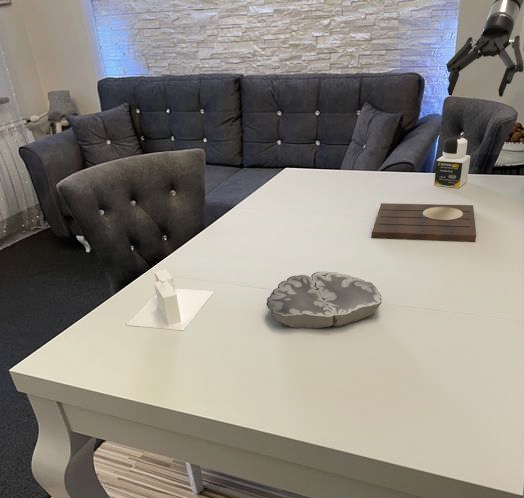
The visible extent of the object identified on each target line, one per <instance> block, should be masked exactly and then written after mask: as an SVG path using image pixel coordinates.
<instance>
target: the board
mask: <svg viewBox="0 0 524 498" xmlns="http://www.w3.org/2000/svg"><path fill="white" fill-rule="evenodd" d="M474 210H475V209H474V205H473V204H441V203H439V204H438V203H437V204H436V203H432V204H431V203H385V202H384V203H383V202H381V203H380V204H379V208H378V210H377V214H376V217H375V220H374V224H373V225H372V226H373V227H372V230H371V236H370V237H371V239H391V240H413V241H415V240H419V241H441V242H442V240H443V242H471V243H472V242H473V243H475V242H476V240H477V228H476V220H475V219H476V218H475V213H474V212H475V211H474Z"/></svg>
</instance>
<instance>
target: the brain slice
mask: <svg viewBox="0 0 524 498" xmlns="http://www.w3.org/2000/svg"><path fill="white" fill-rule="evenodd" d="M265 304H266V307H267V308H268V310H269V311H270V314H271V316H272V317H273V318H274V319H276V320H277V322H279V323H281V324H283V325H284V326H288V327H291V328H294V329H299V328H302V329H304V328H305V329H322V328H330V327H331V326H334V327H341V326H346V325H348V324H350V323H355V322H357V321H361V320H362V319H365V318H368V317H370V316H372V314H374V313H375V311H377V310H378V309H379V307H380V306H381V304H382V294H381V293H380V292H379V291H378V288H377V287H376V285H374V284H373V283H372V282H370V281H365V280H363V279H361V278H359V277H353V276H351V275H349V274H343V273H339V272H334V271H330V272H328V271H316V272H314V273H311V275H307V274H299V275H292V276H289V277H287V278H286V280H283V281H281V282H279V283H278V284H277V287H276V288H274V289H273V290H272V292H271V293H270V295H269V296H268V297H267V298H266V303H265Z"/></svg>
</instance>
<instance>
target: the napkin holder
mask: <svg viewBox="0 0 524 498" xmlns="http://www.w3.org/2000/svg"><path fill="white" fill-rule="evenodd" d="M154 277H155V281H154V282H153V286H154V289H155V290H154V291H155V295H153V296H152V297H151V298H150V299H149V301H148V302H147V303H146V304H145V305H144V306H143V307H142V308H141V309H140V310H139V311H138V312H137V313H136V314H135V315H134V316H133V317H132V318H131V319H130V320H129V322H127V323H126V326H131V327H141V328H153V329H162V330H163V329H164V330H172V331H173V330H175V331H185V330H186V328H188V326H189V325H190V323H191V322H192V321H193V320H194V318H195V317H196V316H197V314H198V313H199V312H200V311H201V309H202V308H203V307H204V306H205V304H206V303H207V301H208V300H209V299H210V297H211V296H212V295H213V294H214V293H215V291H213V290H202V289H201V290H199V289H186V288H175V282H174V277H173V276H172V274H171V273H170V272H169V270H168V269H167V268H165V269H161V270H156V271H154Z"/></svg>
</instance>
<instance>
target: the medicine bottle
mask: <svg viewBox="0 0 524 498" xmlns="http://www.w3.org/2000/svg"><path fill="white" fill-rule="evenodd" d="M468 142H469V141H468V139H466V138H465V137H458V136H456V137H455V136H453V137H449V138H448V137H447V138H446V139H445V140H443V147H442V155H441V156H440V157H439V158H437V159H436V161H435V162H436V163H435V172H434V183H433V184H434V186H436V187H447V188H456V189H459V188H461V187H462V186H463V185H464V184H466V183H467V182H468V179H469V178H468V177H469V171H470V163H471V155H469V154H467V150H468V149H467V148H468Z"/></svg>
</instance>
